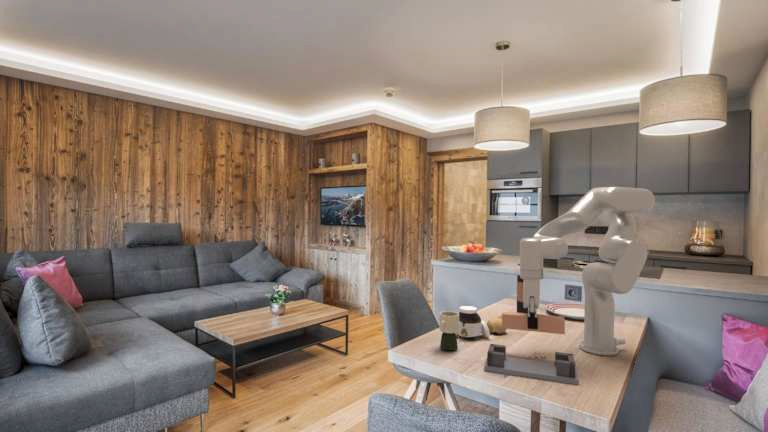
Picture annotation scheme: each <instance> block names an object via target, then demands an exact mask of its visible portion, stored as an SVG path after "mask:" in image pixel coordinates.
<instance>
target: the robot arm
mask: <svg viewBox="0 0 768 432" xmlns="http://www.w3.org/2000/svg"><path fill="white" fill-rule="evenodd" d="M655 204H656V198H655V195H654V193H653V192H652V191H651V190H649V189H647V188H643V187H642V188H641V187H623V186H604V187H603V186H602V187H593V188H591V189H590V190H588V192H587V193H585V194H584V195H583V196H581V198H579V200H578V201H577V202H576V203H575V204H574V205H573V206H572V207H571V208H570V209H569V210H568V211H567V212H565V213H564V214H562V215H560V216H558V217H556V218H554V219H552V220H550V221H549V222H547V223H545V224H544V225H543V226H542V227H540V229H538V231H537V232H536V233H534V234H533V236H532V237H523V238H521V239H520V240H519V270H520V272H519V275H520V278H521V279H524V280H523V303H524V308H527V307H528V329H538V317H537V314H538V313H537V310H538V309H539V308H540V307H539V306H540V295H541V294H540V293H541V283H540V282H541V281H542V280H544V259H551V260H559V259H562V258H563V257H565V256H566V255H567V254H568V252H569V246H568V243H567V242H566V240H565V239H563V238H562V237H565V236H569V235H572V234H576V233H580V232H582V231H585V230H587V229H588V228H589V227H590V226H591V225H592V224H593V223H594V222H595V221H596V220H597V219H598V218H599V217H600V216H601V215H602V214H603V213H604V212H608V213H609V215H610V216H609V217H610V224H609V227H608V230H607V231H606V233H605V235H604V238H602V239H603V240H602V241H601V244H600V246H599V249H598V256H599V258H600V259H601V260H603V261H605V262H598V261H596V262H589V263H588V264H587V265H585V266H584V267H583V269H582V272H581V274H582V275H581V280H582V285H583V290H584V304H585V313H584V320H583V322H584V323H583V324H584V325H583V326H584V327H583V329H584V330H583V341H581V342H579V345H578V348H580V349H581V350H582V351H584V352H587V353H589V354H594V355H599V356H615V355H618V354H619V348H618V347H617V346H618V345H620V346H621V345H626V340H625V339H624V338H619V339H618V338H617V337H615V310H616V309H615V305H616V304H615V299H614V295H613V294H616V295H625V294H627V293H629V292H630V291H632V289H633V288H634V286H635V285H636V283H637V281H638V279H639V276H640V275H641V272H642V271H643V268H644V267H645V264H646V262H647V259H648V248H647V246H646V244H645V243H644V242H643V241H641V240H639V239H636V238H635V235H636V233H637V230H638V228H637V227H638V226H637V222H636V220H635V218H634V215H633V213H634V214H644V213H647V212H649V211H651V210H652V209H653V208H654V206H655ZM606 262H608V263H606ZM611 263H612V264H611ZM540 280H541V281H540Z"/></svg>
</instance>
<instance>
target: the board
mask: <svg viewBox="0 0 768 432" xmlns="http://www.w3.org/2000/svg"><path fill="white" fill-rule="evenodd" d="M483 368H484V369H483V370H484V372H487V373H488V372H490V373H494V374H495V373H496V374H503V375H509V376H515V377H516V376H517V377H523V378H530V379H536V380H542V381H549V382H556V383H562V384H569V385H574V386H575V385H579V381H580V380H579V375H578V373H577V369H576V367H575V378H571V377H564V376H558V375H556V367H555V362H549V361H548V362H547V361H541V360H533V359H526V358H517V357H511V356H506V359H505V360H504V368H502V367H495V366H488V365H487V358H486V359H485V364H484V367H483Z"/></svg>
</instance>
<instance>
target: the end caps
mask: <svg viewBox="0 0 768 432" xmlns="http://www.w3.org/2000/svg"><path fill="white" fill-rule="evenodd" d="M506 357H507V346H506V345H503V344H495V343H490V345H489V347H488V351H487V356H486V359H487V365H488V366H495V367H502V368H504V360H505V359H506ZM554 363H555V367H556V375H558V376H564V377H571V378H575V368H576V361H575V359H574V355H573V353H567V352H558V351H555V352H554Z"/></svg>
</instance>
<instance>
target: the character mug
mask: <svg viewBox="0 0 768 432" xmlns="http://www.w3.org/2000/svg"><path fill="white" fill-rule="evenodd" d="M438 317H439V318H438V321H439V327H438V329H439V330H440V331H441V338H440V345H439V348H440V349H442V350H446V351H456V350H458V347H459V346H458V335H457V334H456V333H457V332H459V312H457V311H450V310H444V311H440V312H439V315H438Z"/></svg>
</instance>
